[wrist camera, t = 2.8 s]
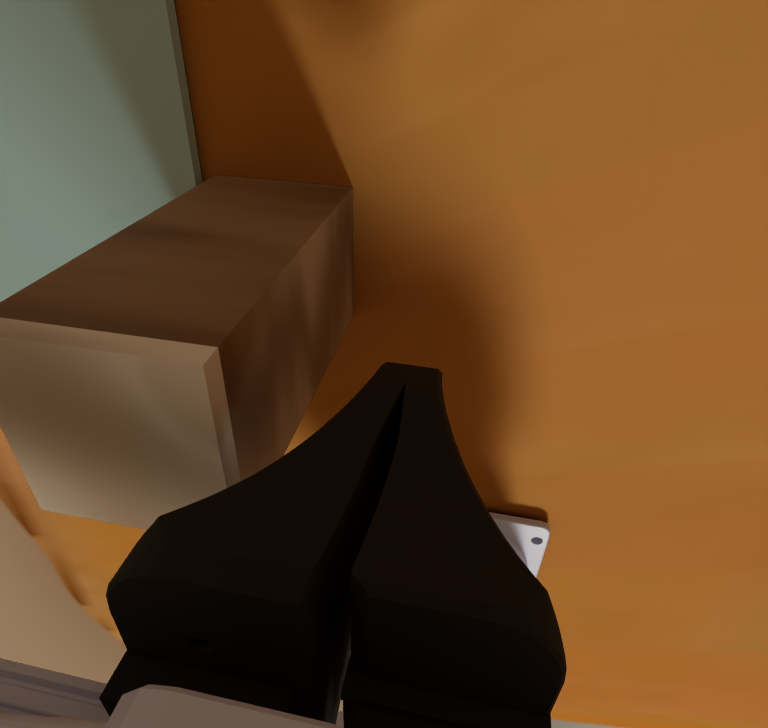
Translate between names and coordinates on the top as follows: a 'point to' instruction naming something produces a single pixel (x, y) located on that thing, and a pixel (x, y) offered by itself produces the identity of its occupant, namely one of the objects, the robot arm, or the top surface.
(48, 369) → the walnut block
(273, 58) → the top surface
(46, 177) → the mat
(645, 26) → the top surface
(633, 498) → the top surface
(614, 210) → the top surface
